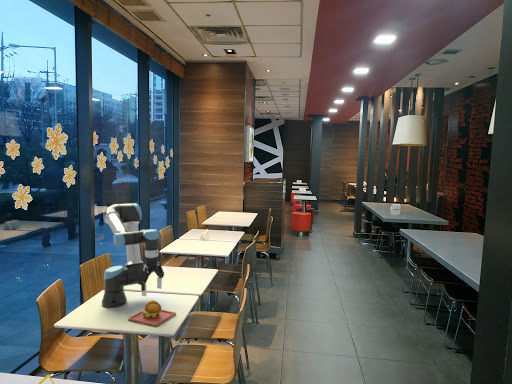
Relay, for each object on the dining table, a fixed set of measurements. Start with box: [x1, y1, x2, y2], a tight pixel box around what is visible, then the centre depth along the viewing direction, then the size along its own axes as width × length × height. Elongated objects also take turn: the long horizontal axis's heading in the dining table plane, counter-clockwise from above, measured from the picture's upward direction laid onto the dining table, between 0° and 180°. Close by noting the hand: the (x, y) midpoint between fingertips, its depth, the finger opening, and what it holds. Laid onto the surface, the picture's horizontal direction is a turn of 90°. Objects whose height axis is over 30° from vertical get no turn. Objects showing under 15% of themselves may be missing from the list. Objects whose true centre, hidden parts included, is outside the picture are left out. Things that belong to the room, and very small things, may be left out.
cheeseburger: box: [141, 299, 162, 319], centre depth 216 cm, size 10×11×10 cm
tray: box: [127, 309, 177, 328], centre depth 216 cm, size 20×18×2 cm
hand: (151, 292), depth 215 cm, fingers open, 13 cm apart
